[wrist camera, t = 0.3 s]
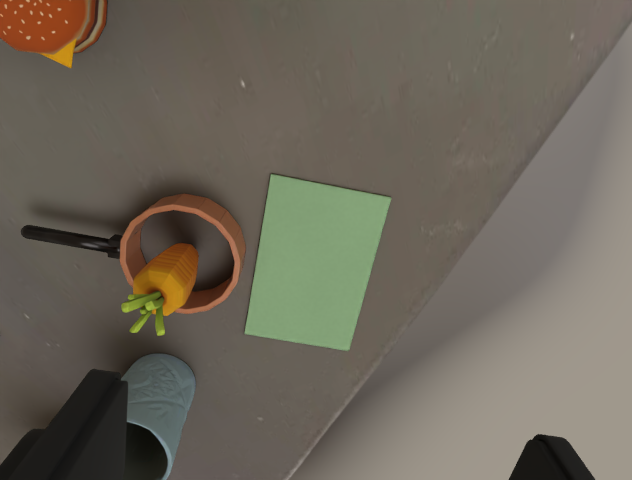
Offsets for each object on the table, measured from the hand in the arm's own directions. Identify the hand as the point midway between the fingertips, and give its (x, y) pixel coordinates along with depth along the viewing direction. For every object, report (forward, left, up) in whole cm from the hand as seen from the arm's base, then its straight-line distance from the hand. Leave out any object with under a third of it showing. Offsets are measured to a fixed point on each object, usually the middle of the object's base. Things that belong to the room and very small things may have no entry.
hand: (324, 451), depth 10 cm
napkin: (+13, +2, -37) cm, 39 cm away
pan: (+12, -17, -36) cm, 42 cm away
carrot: (+13, -12, -37) cm, 40 cm away
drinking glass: (+32, -14, -37) cm, 50 cm away
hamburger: (-9, -26, -37) cm, 46 cm away
